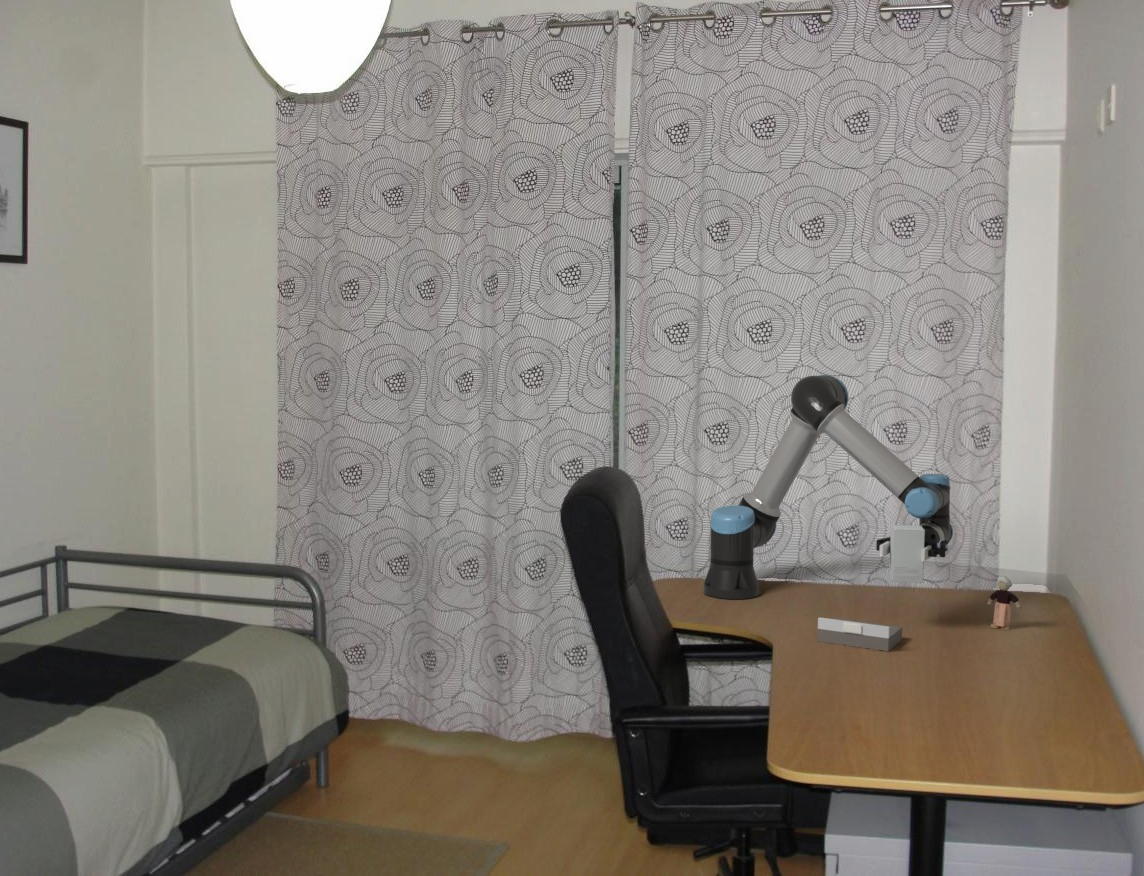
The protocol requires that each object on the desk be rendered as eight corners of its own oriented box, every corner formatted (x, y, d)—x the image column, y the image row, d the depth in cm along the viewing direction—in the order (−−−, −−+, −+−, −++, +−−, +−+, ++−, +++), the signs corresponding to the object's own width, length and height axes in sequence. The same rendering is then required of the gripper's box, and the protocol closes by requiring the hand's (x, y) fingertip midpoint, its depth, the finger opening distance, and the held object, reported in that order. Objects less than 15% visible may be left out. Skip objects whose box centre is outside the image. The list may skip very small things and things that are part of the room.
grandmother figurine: (984, 628, 261) (986, 576, 260) (986, 624, 265) (988, 573, 264) (1019, 632, 258) (1021, 579, 257) (1020, 628, 261) (1022, 576, 260)
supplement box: (923, 583, 255) (925, 530, 254) (890, 581, 257) (892, 528, 256) (920, 577, 262) (922, 525, 261) (888, 575, 264) (890, 524, 263)
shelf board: (816, 641, 247) (817, 618, 247) (833, 630, 258) (834, 607, 258) (887, 652, 239) (888, 628, 239) (901, 639, 250) (902, 616, 250)
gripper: (969, 558, 269) (949, 574, 250) (881, 549, 280) (855, 564, 261) (970, 528, 268) (950, 542, 249) (882, 521, 280) (856, 533, 260)
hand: (901, 553), depth 255 cm, fingers closed on supplement box, 9 cm apart
